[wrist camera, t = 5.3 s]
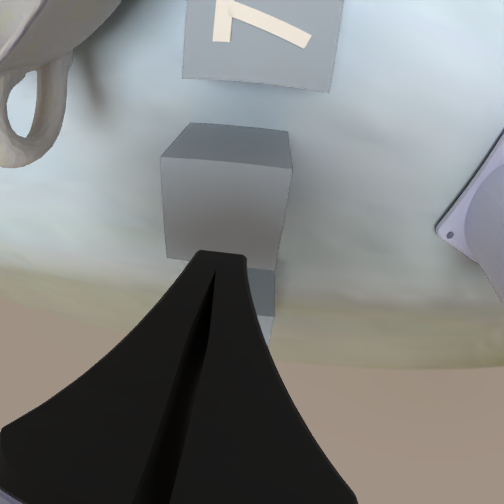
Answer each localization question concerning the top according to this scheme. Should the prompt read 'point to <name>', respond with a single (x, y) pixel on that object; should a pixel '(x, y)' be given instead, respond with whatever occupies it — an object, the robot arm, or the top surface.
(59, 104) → the teacup
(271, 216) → the plain block
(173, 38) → the top surface
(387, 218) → the top surface
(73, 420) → the robot arm
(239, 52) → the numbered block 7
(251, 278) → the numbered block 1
